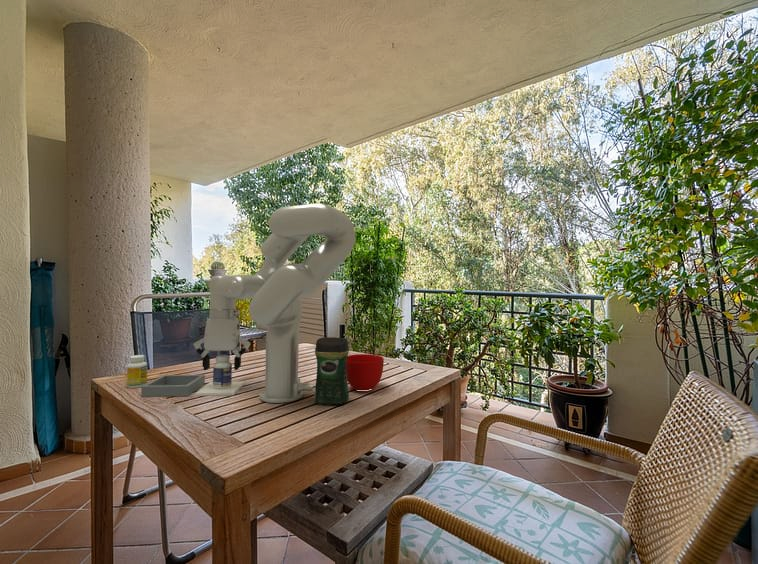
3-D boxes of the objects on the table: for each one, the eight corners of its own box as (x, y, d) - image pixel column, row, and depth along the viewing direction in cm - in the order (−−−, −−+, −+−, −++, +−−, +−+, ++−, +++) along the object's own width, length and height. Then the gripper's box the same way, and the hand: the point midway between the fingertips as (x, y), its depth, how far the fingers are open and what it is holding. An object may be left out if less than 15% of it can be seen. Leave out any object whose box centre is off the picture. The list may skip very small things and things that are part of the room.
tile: (244, 383, 120) (244, 381, 120) (233, 395, 108) (233, 392, 108) (210, 384, 119) (210, 381, 119) (195, 395, 107) (195, 393, 107)
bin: (204, 383, 119) (204, 374, 119) (187, 396, 106) (187, 386, 106) (163, 384, 118) (163, 375, 118) (141, 396, 105) (141, 386, 105)
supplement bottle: (131, 383, 118) (131, 354, 118) (149, 383, 119) (149, 354, 119) (123, 388, 112) (123, 358, 112) (142, 387, 114) (143, 357, 114)
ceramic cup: (381, 380, 127) (382, 352, 127) (384, 395, 110) (384, 362, 110) (345, 379, 127) (345, 351, 127) (342, 395, 110) (342, 362, 110)
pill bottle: (224, 389, 110) (225, 358, 110) (209, 388, 111) (209, 357, 111) (235, 385, 115) (235, 354, 115) (220, 383, 116) (220, 353, 116)
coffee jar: (350, 398, 107) (351, 336, 107) (345, 407, 99) (346, 340, 99) (318, 396, 108) (320, 335, 108) (311, 405, 100) (312, 339, 100)
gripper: (253, 313, 118) (253, 366, 118) (198, 313, 116) (198, 366, 116) (247, 315, 110) (246, 372, 110) (188, 315, 109) (187, 372, 109)
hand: (221, 369), depth 113 cm, fingers open, 8 cm apart
